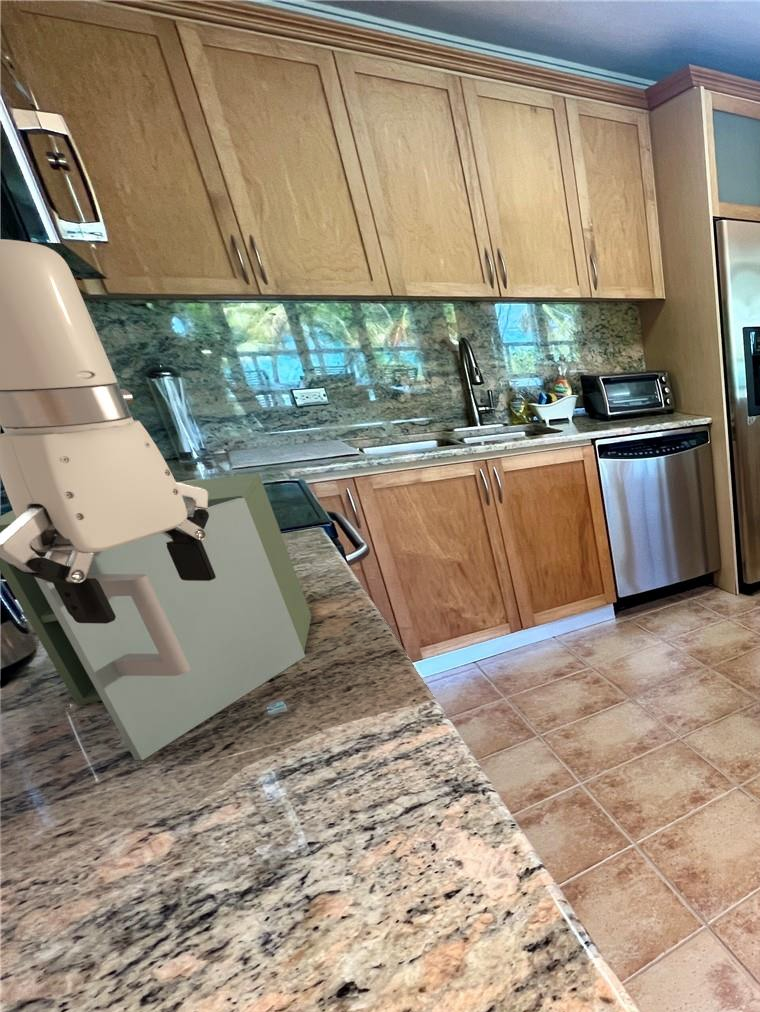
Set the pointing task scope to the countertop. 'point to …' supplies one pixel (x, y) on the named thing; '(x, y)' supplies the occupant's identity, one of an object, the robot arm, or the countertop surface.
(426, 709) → the countertop surface
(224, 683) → the door
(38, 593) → the cupboard
